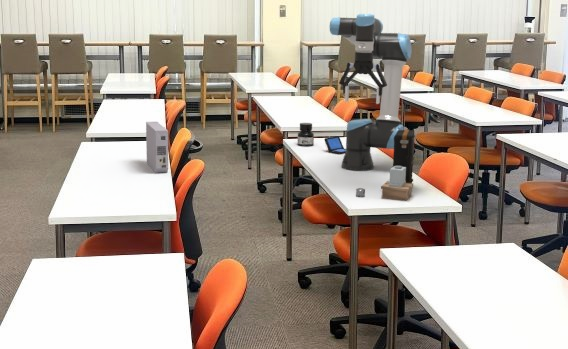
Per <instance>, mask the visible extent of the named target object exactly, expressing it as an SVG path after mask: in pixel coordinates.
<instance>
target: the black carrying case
mask: <svg viewBox="0 0 568 349" xmlns="http://www.w3.org/2000/svg"><path fill="white" fill-rule="evenodd" d="M415 133H416V132H415V130H414V129H407V128H405V129H404V130H398V131H397V133H396V135H395V136H394V149H393V158H392V160H393V161H392V167H394V166H402V167H406V178H405V181H406V183H413V182H414V178H413V169H414V167H413V166H414V160H415V157H414V152H415V138H416V135H415Z"/></svg>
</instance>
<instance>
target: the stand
mask: <svg viewBox="0 0 568 349" xmlns="http://www.w3.org/2000/svg"><path fill="white" fill-rule="evenodd" d="M389 184H390V180H387V181H386V182H384V183H383V184H382V185H380V189H381V192H382V193H381V199H386V200H387V199H388V200H394V201H395V200H397V201H404V202H405V201H407V200H408V199H409V198H410V197H411V196H412V192H413V191H412V188H413V187H414V183H413V182H412V183H405V184H404V185H403V186H402V187H401V188H398V187H389Z"/></svg>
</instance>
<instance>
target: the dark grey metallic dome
mask: <svg viewBox="0 0 568 349" xmlns="http://www.w3.org/2000/svg"><path fill="white" fill-rule="evenodd" d="M355 196H356V198H365V197H366V189H365V188H361V187H358V188H355Z"/></svg>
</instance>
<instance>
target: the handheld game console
mask: <svg viewBox="0 0 568 349" xmlns="http://www.w3.org/2000/svg"><path fill="white" fill-rule="evenodd" d="M324 143H325V145H326V148H327V150H328V153H329V154H335V155H345V153H346V148H345V147H344V145H343V143H342V140H341V138H340V136H331V137H326V138H324Z"/></svg>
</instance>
